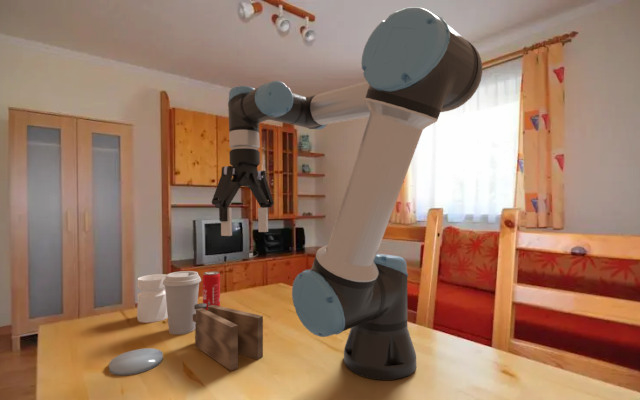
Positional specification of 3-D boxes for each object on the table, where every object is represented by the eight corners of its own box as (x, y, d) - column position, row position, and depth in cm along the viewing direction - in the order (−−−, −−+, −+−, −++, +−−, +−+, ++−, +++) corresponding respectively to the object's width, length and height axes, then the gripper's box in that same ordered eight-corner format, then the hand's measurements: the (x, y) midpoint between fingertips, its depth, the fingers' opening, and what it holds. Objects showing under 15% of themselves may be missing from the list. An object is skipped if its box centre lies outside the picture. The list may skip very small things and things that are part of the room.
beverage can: (217, 313, 103) (217, 274, 103) (200, 313, 103) (200, 274, 103) (222, 308, 108) (222, 271, 108) (206, 308, 108) (206, 271, 109)
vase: (169, 320, 98) (169, 278, 98) (135, 324, 94) (135, 281, 94) (170, 311, 106) (170, 273, 106) (138, 314, 102) (139, 275, 102)
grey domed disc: (172, 359, 73) (172, 354, 73) (125, 380, 64) (126, 375, 64) (145, 349, 78) (145, 344, 78) (99, 367, 70) (99, 362, 70)
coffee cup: (187, 338, 84) (188, 278, 84) (154, 335, 86) (154, 277, 86) (207, 324, 94) (208, 271, 94) (177, 322, 96) (177, 269, 96)
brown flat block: (262, 356, 74) (262, 315, 74) (251, 363, 71) (251, 319, 71) (203, 338, 84) (203, 301, 84) (191, 343, 81) (191, 305, 81)
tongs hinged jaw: (238, 367, 69) (238, 324, 69) (230, 370, 67) (230, 327, 67) (197, 340, 82) (197, 305, 82) (190, 342, 81) (190, 306, 81)
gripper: (263, 157, 98) (265, 230, 97) (194, 143, 76) (195, 237, 75) (285, 155, 94) (286, 230, 94) (218, 139, 72) (220, 237, 72)
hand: (246, 233), depth 84 cm, fingers open, 13 cm apart
